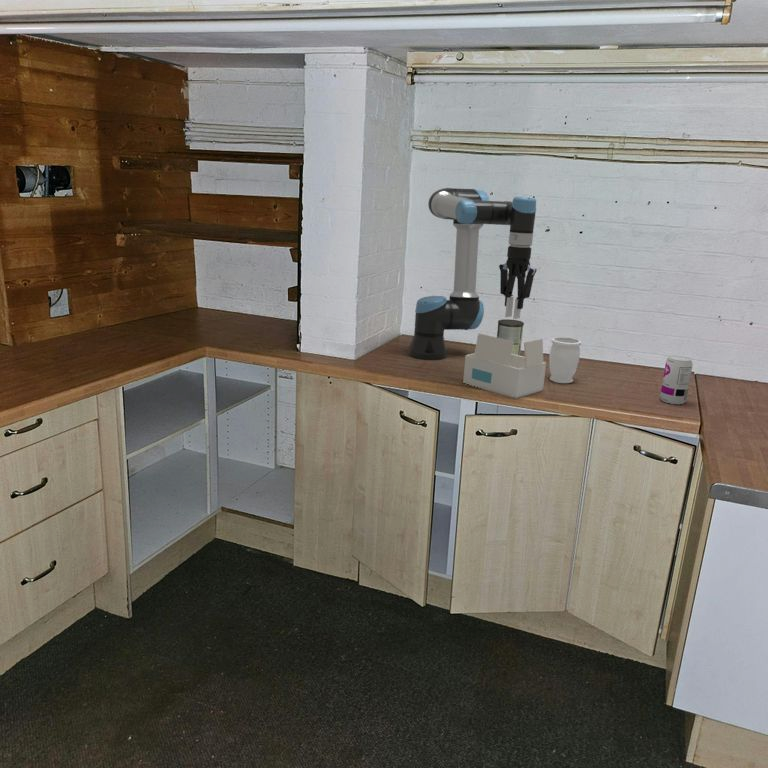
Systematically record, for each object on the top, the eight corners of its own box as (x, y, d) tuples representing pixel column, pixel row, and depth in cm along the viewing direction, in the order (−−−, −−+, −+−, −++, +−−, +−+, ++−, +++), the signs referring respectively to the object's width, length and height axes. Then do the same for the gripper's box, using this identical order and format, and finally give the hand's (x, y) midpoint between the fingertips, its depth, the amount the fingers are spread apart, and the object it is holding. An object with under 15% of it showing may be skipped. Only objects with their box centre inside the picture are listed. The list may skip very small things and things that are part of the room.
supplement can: (659, 403, 231) (667, 359, 227) (659, 396, 238) (666, 354, 234) (685, 406, 228) (693, 362, 224) (685, 400, 236) (692, 357, 231)
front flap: (474, 356, 236) (473, 356, 235) (479, 333, 235) (478, 333, 234) (509, 365, 226) (508, 365, 226) (513, 341, 225) (512, 341, 225)
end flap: (524, 342, 225) (525, 342, 224) (540, 338, 232) (542, 338, 231) (525, 366, 226) (526, 367, 225) (541, 362, 233) (543, 362, 232)
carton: (461, 383, 242) (464, 355, 239) (490, 375, 253) (492, 348, 251) (515, 399, 227) (519, 369, 224) (543, 390, 238) (547, 362, 236)
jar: (554, 375, 259) (559, 335, 255) (580, 380, 253) (586, 340, 248) (541, 380, 251) (546, 339, 247) (568, 386, 245) (573, 344, 240)
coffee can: (490, 352, 288) (493, 319, 284) (512, 352, 291) (516, 319, 287) (502, 359, 278) (505, 324, 274) (524, 358, 282) (528, 324, 278)
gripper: (493, 243, 228) (486, 314, 235) (534, 248, 218) (525, 322, 224) (506, 243, 233) (499, 312, 240) (547, 248, 223) (538, 320, 230)
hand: (512, 317), depth 232 cm, fingers open, 3 cm apart
